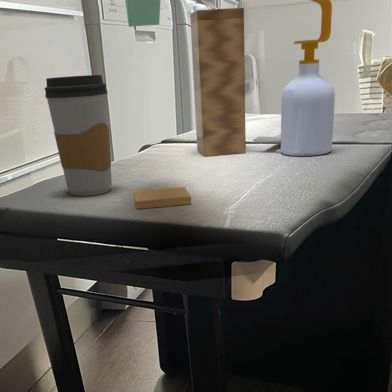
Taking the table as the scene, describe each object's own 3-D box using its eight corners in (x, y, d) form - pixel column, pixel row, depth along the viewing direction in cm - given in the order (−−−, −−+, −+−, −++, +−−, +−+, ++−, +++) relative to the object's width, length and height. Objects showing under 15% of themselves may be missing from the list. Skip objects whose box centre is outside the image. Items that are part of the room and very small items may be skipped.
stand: (203, 156, 102) (196, 10, 91) (197, 150, 109) (190, 13, 98) (245, 153, 103) (243, 7, 92) (236, 147, 110) (233, 11, 99)
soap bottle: (275, 150, 103) (277, -4, 91) (322, 147, 104) (330, -7, 92) (287, 158, 95) (290, -10, 83) (338, 154, 96) (349, -14, 84)
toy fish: (311, 138, 114) (312, 118, 112) (279, 152, 101) (279, 129, 99) (287, 138, 117) (287, 118, 115) (252, 152, 103) (251, 129, 101)
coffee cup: (90, 183, 85) (75, 75, 78) (130, 187, 81) (118, 73, 74) (49, 194, 79) (28, 79, 72) (90, 200, 75) (72, 77, 68)
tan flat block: (136, 209, 69) (135, 201, 68) (134, 198, 74) (133, 191, 73) (191, 204, 69) (190, 196, 69) (185, 194, 75) (184, 186, 74)
